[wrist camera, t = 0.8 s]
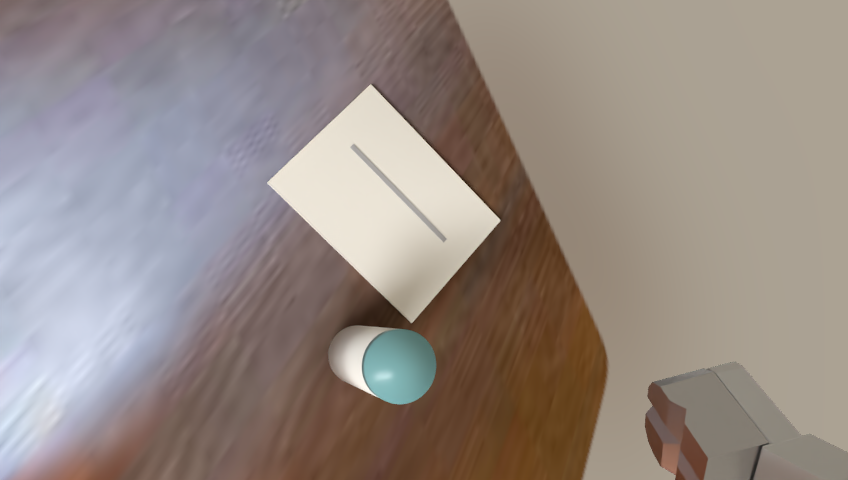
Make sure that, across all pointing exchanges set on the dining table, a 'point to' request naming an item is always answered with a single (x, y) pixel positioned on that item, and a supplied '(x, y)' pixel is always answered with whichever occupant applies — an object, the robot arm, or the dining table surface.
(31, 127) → the dining table surface
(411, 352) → the marker
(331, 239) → the paper
